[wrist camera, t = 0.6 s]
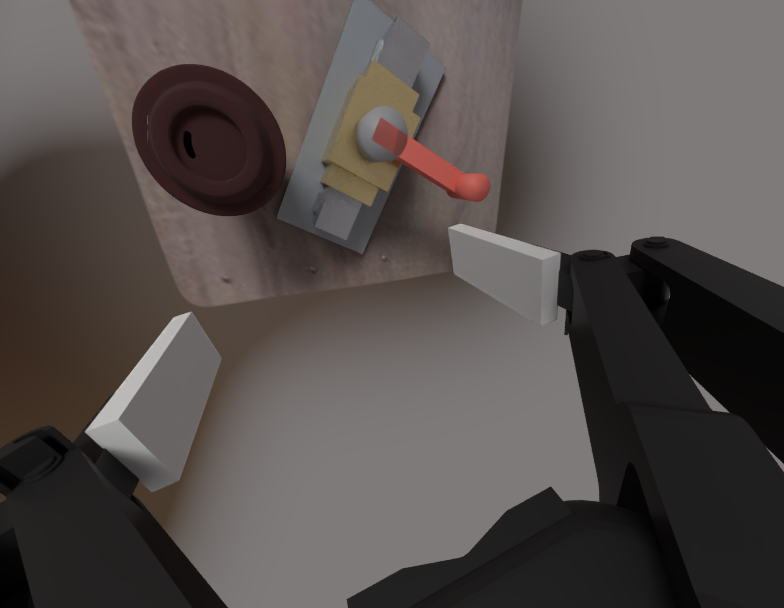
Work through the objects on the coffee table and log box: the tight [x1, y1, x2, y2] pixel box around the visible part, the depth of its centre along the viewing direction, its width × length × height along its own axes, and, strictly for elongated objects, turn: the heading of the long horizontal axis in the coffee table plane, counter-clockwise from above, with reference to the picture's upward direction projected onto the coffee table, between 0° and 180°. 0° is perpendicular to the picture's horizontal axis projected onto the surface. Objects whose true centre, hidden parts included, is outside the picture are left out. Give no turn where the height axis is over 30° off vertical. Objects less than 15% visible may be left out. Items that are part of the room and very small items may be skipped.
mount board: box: [276, 0, 446, 254], centre depth 36 cm, size 25×12×1 cm, turn 153°
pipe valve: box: [312, 15, 430, 240], centre depth 32 cm, size 22×7×7 cm, turn 153°
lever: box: [355, 106, 490, 202], centre depth 29 cm, size 14×4×6 cm, turn 63°
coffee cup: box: [132, 64, 286, 216], centre depth 27 cm, size 10×10×15 cm
